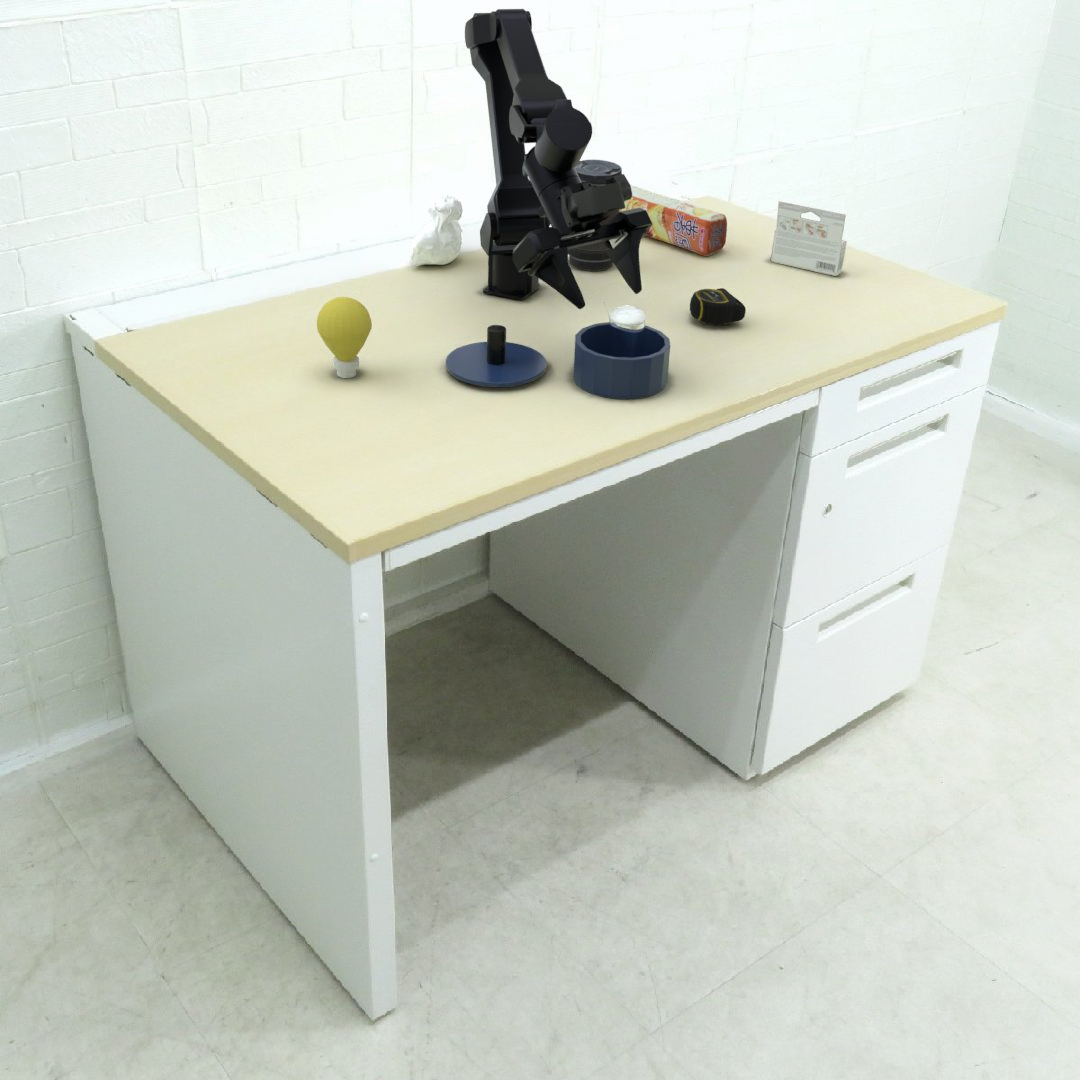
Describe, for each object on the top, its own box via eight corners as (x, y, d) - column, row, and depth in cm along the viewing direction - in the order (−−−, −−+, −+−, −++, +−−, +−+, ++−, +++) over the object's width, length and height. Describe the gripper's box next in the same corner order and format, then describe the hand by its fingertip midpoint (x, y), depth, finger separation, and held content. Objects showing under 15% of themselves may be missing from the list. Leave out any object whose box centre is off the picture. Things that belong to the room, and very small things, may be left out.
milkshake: (596, 369, 165) (601, 295, 160) (638, 369, 166) (644, 295, 161) (601, 384, 162) (606, 309, 156) (643, 384, 162) (649, 309, 157)
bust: (420, 287, 194) (460, 237, 187) (385, 250, 194) (424, 199, 187) (459, 263, 203) (499, 215, 196) (425, 228, 203) (464, 178, 196)
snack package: (728, 250, 206) (733, 208, 203) (703, 260, 202) (708, 217, 199) (626, 218, 218) (628, 178, 215) (600, 226, 214) (603, 186, 211)
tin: (558, 387, 161) (560, 347, 158) (594, 353, 170) (596, 315, 168) (647, 406, 157) (651, 366, 154) (678, 370, 167) (682, 332, 164)
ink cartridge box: (775, 257, 204) (784, 196, 199) (842, 273, 199) (852, 210, 194) (769, 262, 202) (777, 200, 197) (836, 277, 198) (846, 215, 192)
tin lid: (427, 378, 162) (427, 336, 159) (473, 342, 172) (473, 302, 169) (520, 399, 158) (521, 356, 155) (561, 361, 168) (563, 320, 165)
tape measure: (745, 327, 180) (749, 302, 178) (700, 332, 178) (703, 306, 176) (724, 309, 185) (727, 284, 183) (680, 313, 183) (683, 288, 181)
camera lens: (556, 267, 197) (560, 169, 189) (575, 251, 203) (580, 156, 196) (606, 276, 195) (612, 177, 187) (624, 260, 201) (631, 163, 193)
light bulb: (350, 390, 158) (346, 313, 153) (308, 376, 161) (303, 300, 156) (384, 371, 163) (381, 296, 158) (342, 358, 166) (339, 284, 161)
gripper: (529, 165, 150) (584, 284, 149) (648, 143, 160) (702, 254, 159) (488, 213, 159) (540, 326, 158) (603, 190, 169) (653, 296, 168)
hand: (611, 299), depth 160 cm, fingers open, 9 cm apart
